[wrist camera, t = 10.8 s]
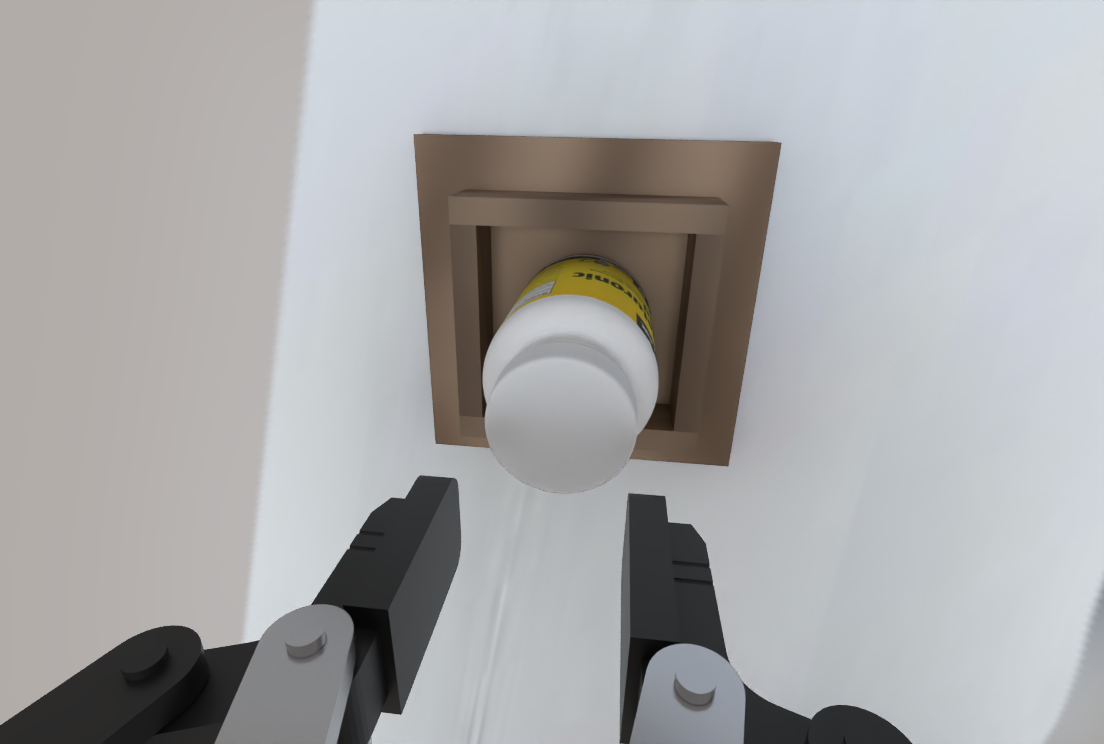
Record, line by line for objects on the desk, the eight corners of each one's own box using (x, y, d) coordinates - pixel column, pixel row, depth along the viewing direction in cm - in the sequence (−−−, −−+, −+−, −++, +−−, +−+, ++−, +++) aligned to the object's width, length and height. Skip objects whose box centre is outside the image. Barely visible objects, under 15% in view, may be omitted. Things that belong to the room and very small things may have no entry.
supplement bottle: (678, 325, 24) (709, 449, 15) (577, 399, 26) (549, 550, 17) (592, 221, 23) (569, 287, 14) (493, 307, 25) (413, 416, 16)
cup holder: (775, 141, 22) (800, 145, 19) (725, 455, 28) (737, 498, 25) (421, 134, 24) (389, 135, 20) (441, 433, 29) (418, 471, 26)
